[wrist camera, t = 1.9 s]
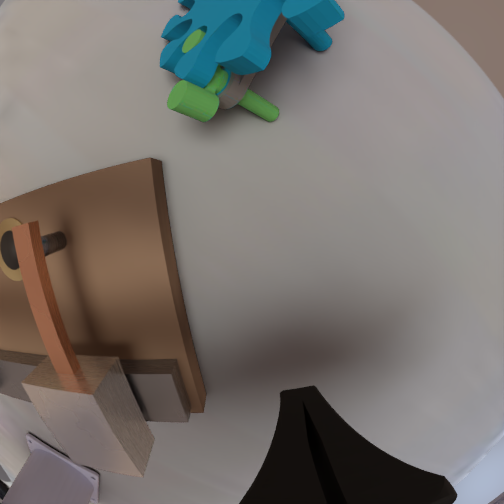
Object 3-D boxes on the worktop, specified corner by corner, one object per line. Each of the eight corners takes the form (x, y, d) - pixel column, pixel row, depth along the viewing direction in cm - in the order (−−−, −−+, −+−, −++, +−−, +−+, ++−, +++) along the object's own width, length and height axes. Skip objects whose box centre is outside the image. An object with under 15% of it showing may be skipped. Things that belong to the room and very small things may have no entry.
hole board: (206, 394, 14) (203, 415, 12) (-21, 368, 14) (-32, 377, 12) (161, 160, 11) (148, 156, 10) (-62, 236, 11) (-75, 240, 10)
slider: (158, 427, 12) (143, 477, 9) (96, 420, 12) (73, 462, 9) (92, 208, 10) (36, 218, 6) (26, 224, 10) (-28, 239, 6)
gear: (220, -67, 7) (395, -109, 1) (288, -14, 11) (447, -6, 6) (114, 93, 10) (242, 132, 5) (209, 127, 15) (363, 200, 9)
